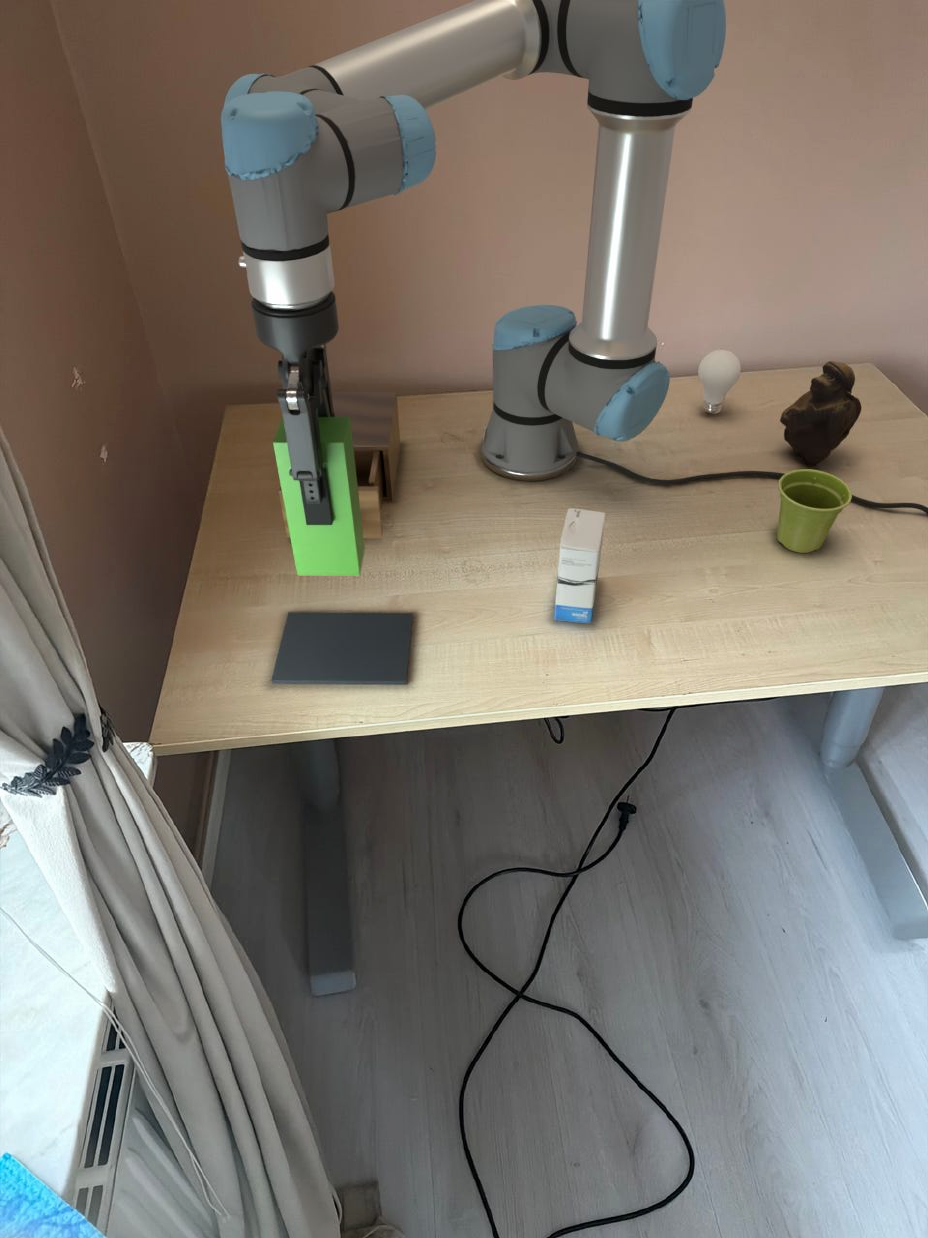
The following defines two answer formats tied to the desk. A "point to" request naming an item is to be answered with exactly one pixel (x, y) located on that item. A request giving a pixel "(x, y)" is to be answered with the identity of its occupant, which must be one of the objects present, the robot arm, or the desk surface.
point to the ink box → (579, 565)
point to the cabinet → (373, 428)
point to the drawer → (364, 492)
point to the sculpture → (822, 414)
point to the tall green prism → (343, 540)
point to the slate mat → (344, 648)
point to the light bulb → (718, 378)
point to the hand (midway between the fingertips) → (323, 506)
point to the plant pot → (809, 508)
